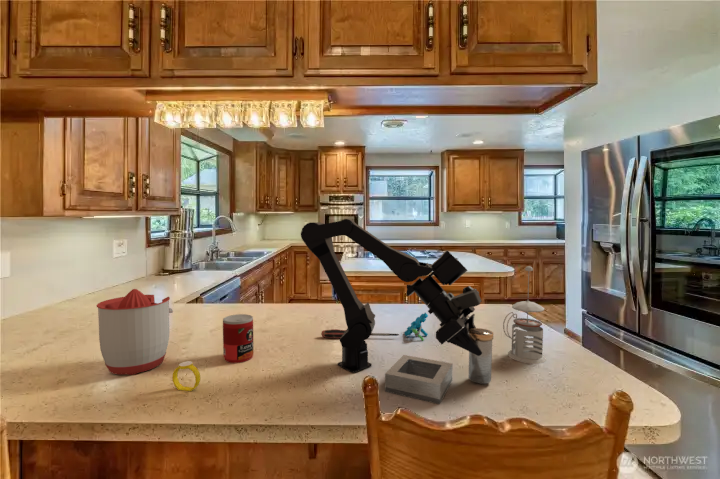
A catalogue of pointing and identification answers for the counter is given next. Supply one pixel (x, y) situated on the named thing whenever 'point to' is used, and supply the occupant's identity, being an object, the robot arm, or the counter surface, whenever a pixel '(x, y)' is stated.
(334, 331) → the screwdriver
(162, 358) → the citrus juicer
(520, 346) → the french press
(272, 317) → the counter surface
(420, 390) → the collar
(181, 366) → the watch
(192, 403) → the counter surface
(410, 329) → the teal bumpy piece
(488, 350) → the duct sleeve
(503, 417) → the counter surface
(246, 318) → the canned food
